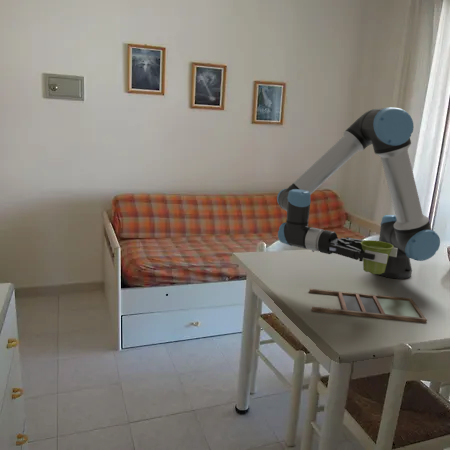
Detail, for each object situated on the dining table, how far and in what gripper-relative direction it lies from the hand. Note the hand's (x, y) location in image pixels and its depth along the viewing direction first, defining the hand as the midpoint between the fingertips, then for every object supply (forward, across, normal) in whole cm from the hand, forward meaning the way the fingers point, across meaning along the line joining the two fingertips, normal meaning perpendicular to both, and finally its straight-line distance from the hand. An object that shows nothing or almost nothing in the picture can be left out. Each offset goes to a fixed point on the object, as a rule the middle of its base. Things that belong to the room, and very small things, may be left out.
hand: (391, 255), depth 124 cm
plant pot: (-5, 0, -6) cm, 8 cm away
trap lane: (-6, 0, -18) cm, 19 cm away
